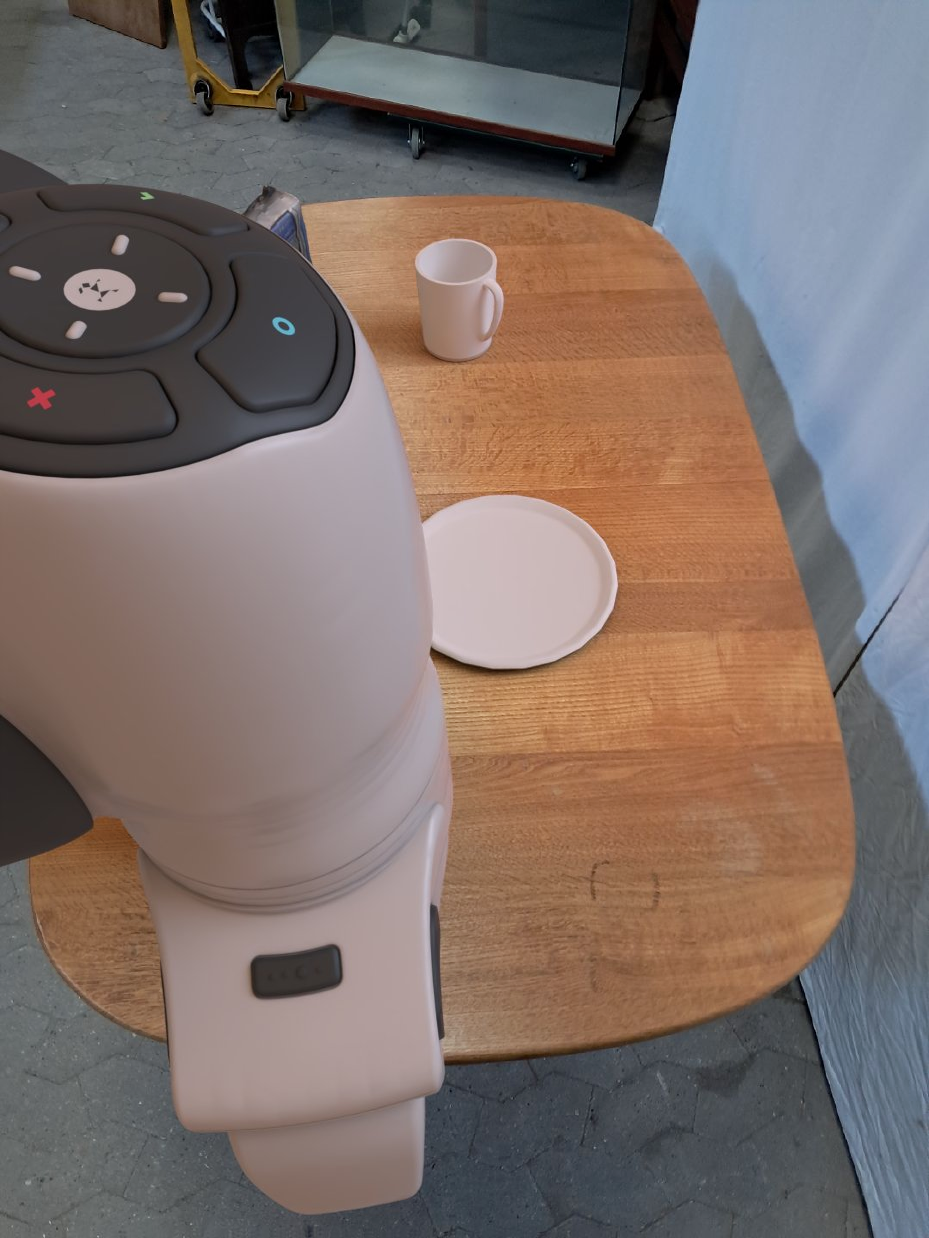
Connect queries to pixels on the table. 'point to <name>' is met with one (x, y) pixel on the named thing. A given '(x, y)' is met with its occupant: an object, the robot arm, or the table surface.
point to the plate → (515, 581)
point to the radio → (281, 217)
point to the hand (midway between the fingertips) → (360, 928)
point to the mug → (458, 298)
